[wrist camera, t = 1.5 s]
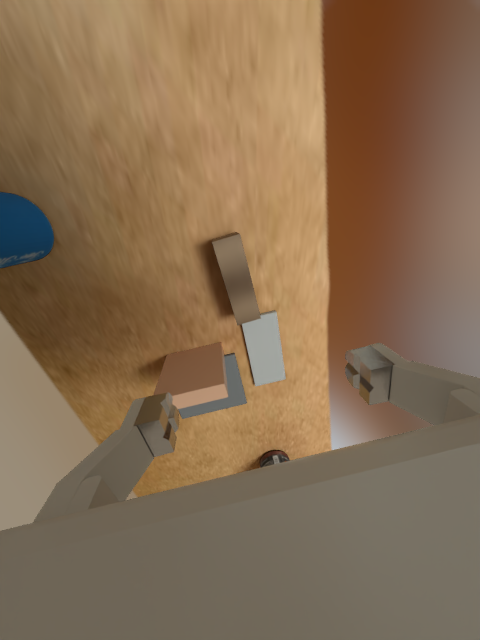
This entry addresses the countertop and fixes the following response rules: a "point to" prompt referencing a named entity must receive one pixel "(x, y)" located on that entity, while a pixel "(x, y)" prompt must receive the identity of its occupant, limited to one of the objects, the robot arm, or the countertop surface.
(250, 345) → the pad
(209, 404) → the mat
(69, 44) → the countertop surface
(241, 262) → the tall taupe beveled block
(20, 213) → the beverage can
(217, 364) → the tile
